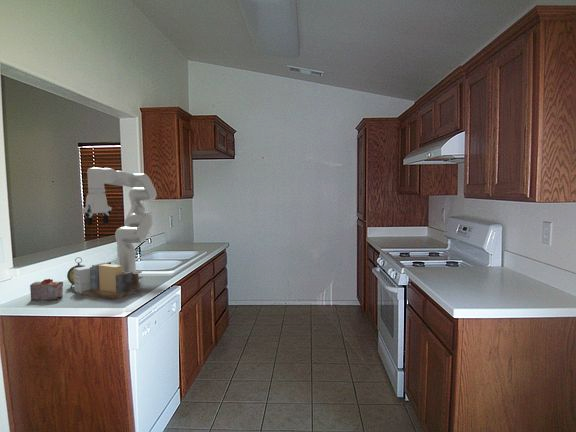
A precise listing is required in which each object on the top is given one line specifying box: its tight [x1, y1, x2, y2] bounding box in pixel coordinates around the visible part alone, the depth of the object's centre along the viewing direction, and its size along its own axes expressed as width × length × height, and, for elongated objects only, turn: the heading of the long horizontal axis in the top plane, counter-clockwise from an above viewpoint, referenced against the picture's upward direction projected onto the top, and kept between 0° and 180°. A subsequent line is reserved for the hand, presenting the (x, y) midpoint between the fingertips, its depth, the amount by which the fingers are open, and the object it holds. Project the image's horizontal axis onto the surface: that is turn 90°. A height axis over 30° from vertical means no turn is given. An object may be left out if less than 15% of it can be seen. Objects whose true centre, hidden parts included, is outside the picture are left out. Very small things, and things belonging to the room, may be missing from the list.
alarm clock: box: [66, 256, 86, 288], centre depth 203 cm, size 11×5×16 cm, turn 106°
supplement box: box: [74, 265, 91, 295], centre depth 193 cm, size 7×7×13 cm
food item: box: [29, 278, 64, 301], centre depth 180 cm, size 14×8×10 cm, turn 94°
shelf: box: [82, 261, 140, 301], centre depth 189 cm, size 16×22×14 cm
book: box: [99, 263, 122, 292], centre depth 189 cm, size 4×12×13 cm, turn 66°
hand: (98, 224), depth 192 cm, fingers open, 9 cm apart
